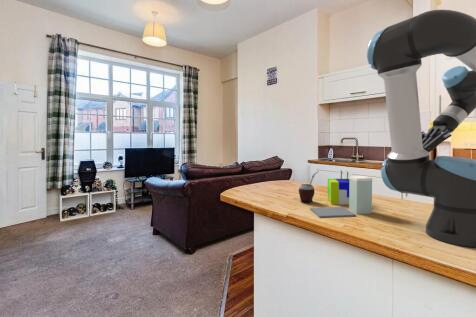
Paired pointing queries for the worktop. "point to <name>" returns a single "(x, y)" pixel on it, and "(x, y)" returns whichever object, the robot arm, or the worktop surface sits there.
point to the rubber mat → (332, 212)
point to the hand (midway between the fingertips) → (406, 163)
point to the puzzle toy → (338, 191)
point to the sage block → (360, 194)
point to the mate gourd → (307, 192)
